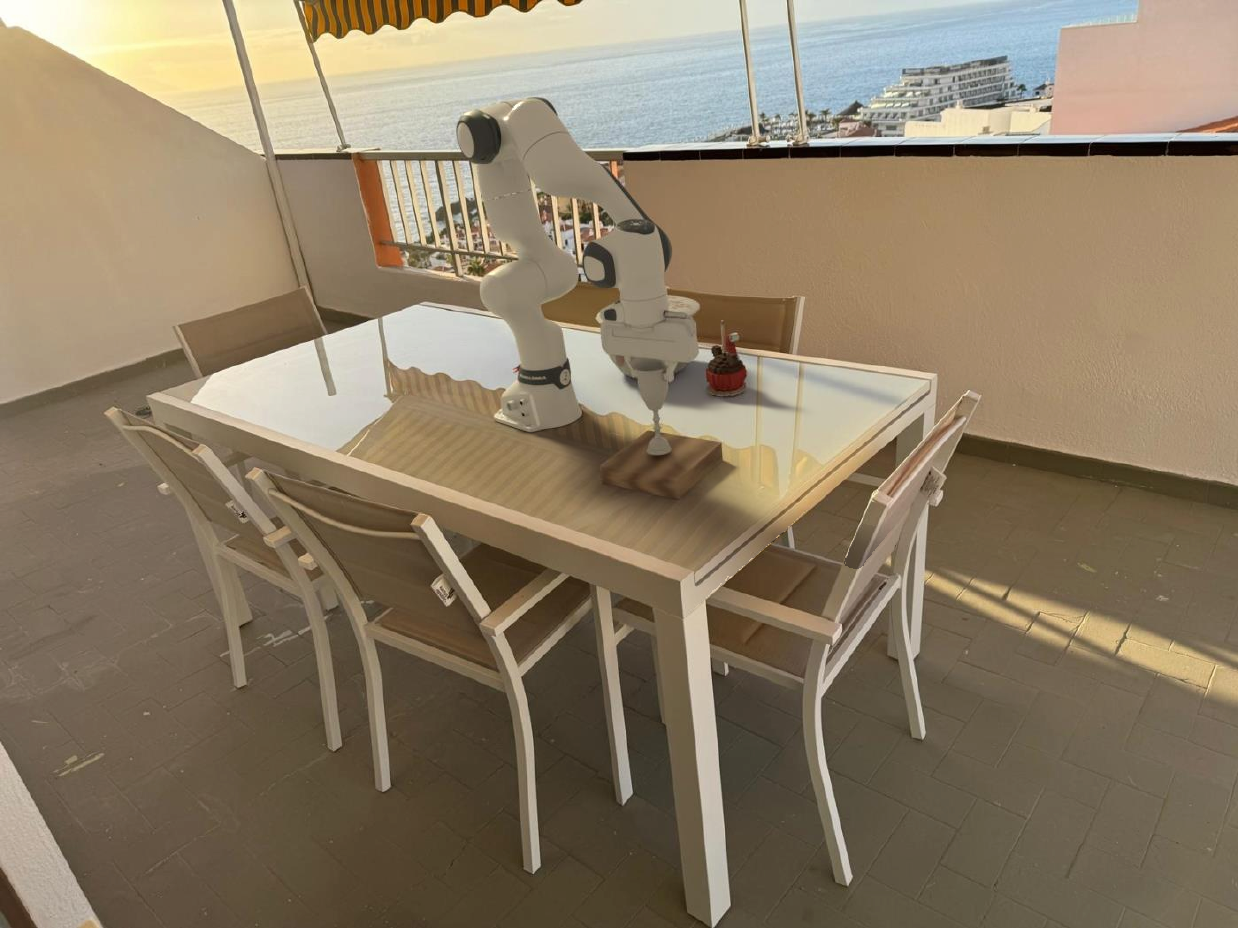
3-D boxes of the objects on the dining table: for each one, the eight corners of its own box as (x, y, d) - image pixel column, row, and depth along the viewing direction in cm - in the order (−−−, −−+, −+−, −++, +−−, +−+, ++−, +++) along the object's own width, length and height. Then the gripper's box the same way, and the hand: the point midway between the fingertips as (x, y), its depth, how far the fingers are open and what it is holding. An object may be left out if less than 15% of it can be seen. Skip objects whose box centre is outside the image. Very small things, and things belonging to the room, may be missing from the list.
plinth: (602, 483, 171) (599, 465, 170) (649, 446, 184) (647, 430, 182) (678, 499, 162) (676, 480, 160) (722, 459, 174) (721, 442, 173)
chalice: (673, 457, 166) (666, 370, 159) (639, 457, 168) (631, 372, 160) (677, 442, 173) (671, 358, 165) (645, 442, 174) (636, 359, 167)
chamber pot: (640, 349, 245) (632, 279, 236) (723, 358, 229) (718, 283, 220) (582, 383, 225) (570, 308, 216) (668, 396, 210) (660, 315, 201)
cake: (700, 389, 211) (694, 320, 203) (732, 380, 214) (727, 311, 206) (721, 402, 202) (716, 330, 194) (754, 392, 205) (751, 321, 197)
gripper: (701, 307, 154) (707, 378, 161) (611, 301, 166) (619, 368, 172) (684, 318, 150) (690, 390, 156) (592, 311, 161) (601, 378, 167)
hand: (652, 378), depth 164 cm, fingers closed on chalice, 6 cm apart
